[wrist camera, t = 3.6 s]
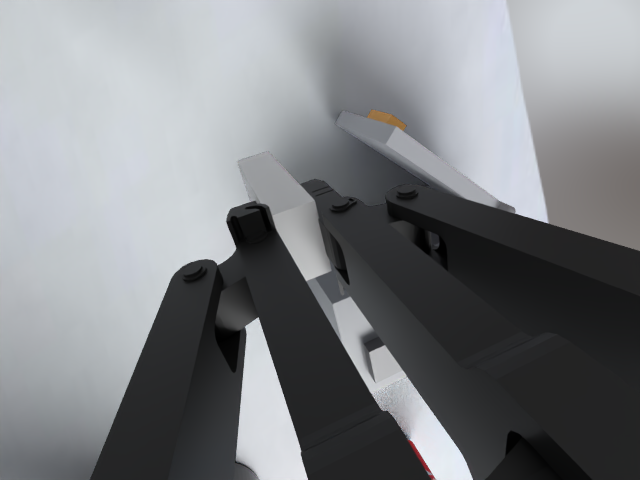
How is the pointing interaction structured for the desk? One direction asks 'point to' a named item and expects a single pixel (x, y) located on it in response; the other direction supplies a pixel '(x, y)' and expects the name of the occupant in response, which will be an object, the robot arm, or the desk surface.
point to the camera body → (357, 332)
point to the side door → (413, 156)
